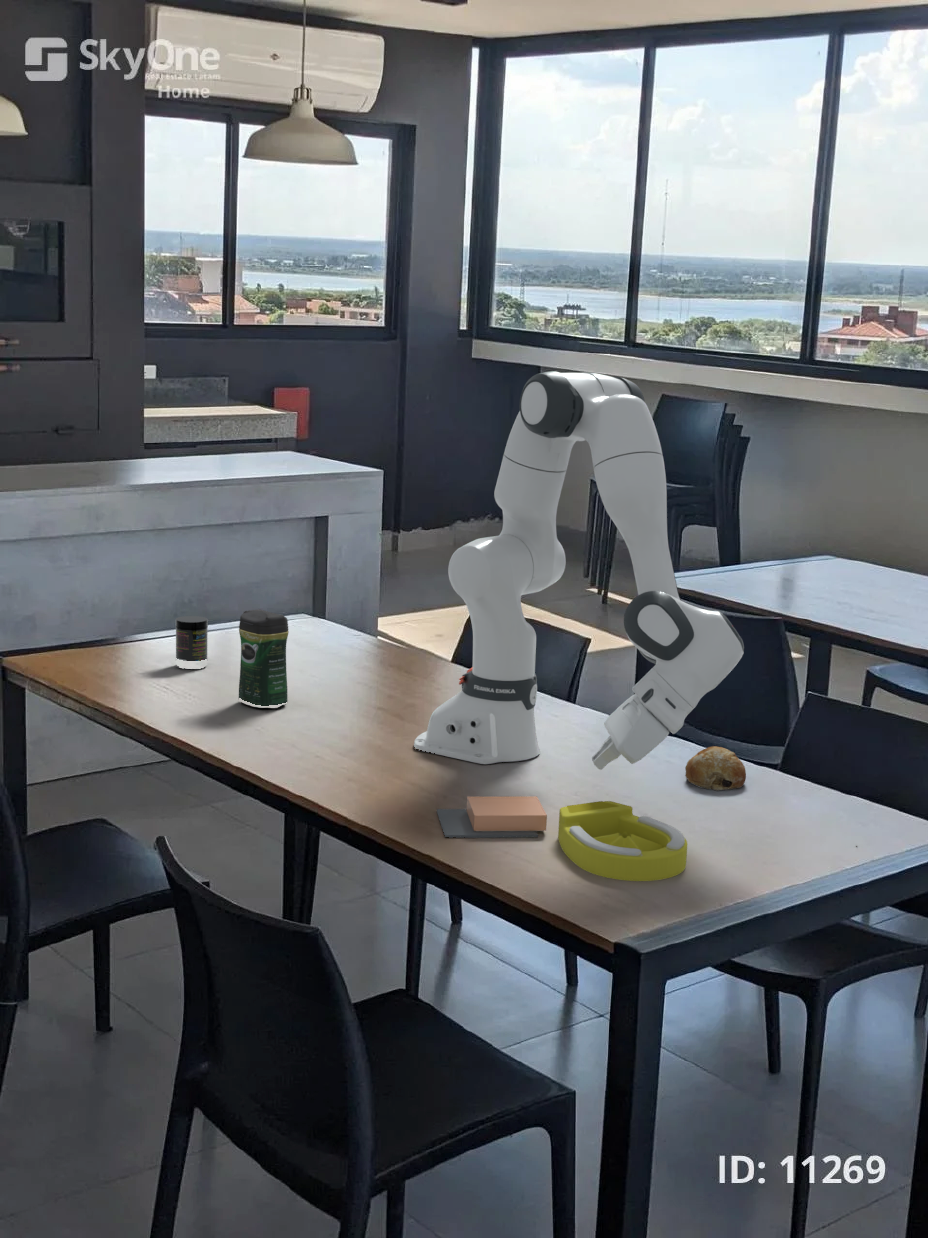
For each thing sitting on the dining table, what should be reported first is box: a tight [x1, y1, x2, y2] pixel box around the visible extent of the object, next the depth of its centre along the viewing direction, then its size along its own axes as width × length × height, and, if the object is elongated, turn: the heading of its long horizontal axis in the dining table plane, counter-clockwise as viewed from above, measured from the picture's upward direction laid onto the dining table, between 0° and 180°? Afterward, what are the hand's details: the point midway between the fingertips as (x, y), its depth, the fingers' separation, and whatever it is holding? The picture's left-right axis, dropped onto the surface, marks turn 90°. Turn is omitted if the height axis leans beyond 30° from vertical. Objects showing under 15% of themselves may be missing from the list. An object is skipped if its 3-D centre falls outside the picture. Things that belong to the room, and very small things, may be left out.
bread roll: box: [684, 745, 747, 792], centre depth 259 cm, size 10×10×8 cm
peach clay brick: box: [466, 795, 548, 832], centre depth 234 cm, size 2×9×11 cm
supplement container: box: [175, 615, 209, 661], centre depth 325 cm, size 7×7×10 cm
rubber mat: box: [436, 808, 539, 839], centre depth 234 cm, size 14×12×1 cm
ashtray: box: [557, 800, 688, 882], centre depth 222 cm, size 16×21×5 cm
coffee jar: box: [238, 608, 289, 706], centre depth 296 cm, size 10×8×19 cm
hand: (595, 764), depth 235 cm, fingers closed
